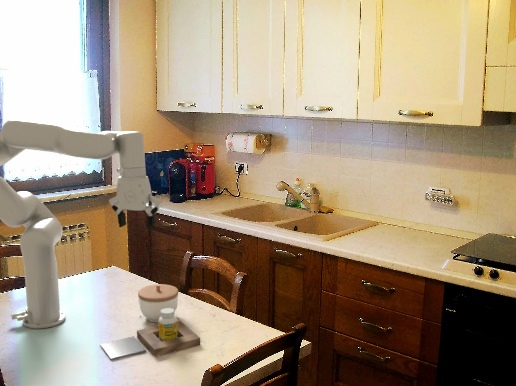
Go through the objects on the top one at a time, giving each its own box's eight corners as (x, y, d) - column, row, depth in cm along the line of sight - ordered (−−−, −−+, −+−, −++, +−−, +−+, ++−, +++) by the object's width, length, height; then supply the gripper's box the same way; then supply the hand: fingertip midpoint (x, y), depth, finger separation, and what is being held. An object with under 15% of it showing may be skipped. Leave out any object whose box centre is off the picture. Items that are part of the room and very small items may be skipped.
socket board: (154, 356, 157) (154, 349, 156) (137, 337, 168) (136, 330, 168) (200, 345, 164) (200, 338, 163) (180, 327, 175) (180, 320, 175)
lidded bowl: (159, 306, 191) (158, 275, 189) (186, 316, 184) (186, 283, 182) (130, 319, 181) (129, 286, 179) (158, 329, 174) (158, 295, 171)
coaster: (111, 360, 154) (110, 358, 154) (100, 346, 162) (100, 344, 162) (146, 351, 159) (145, 349, 159) (133, 338, 168) (133, 336, 168)
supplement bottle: (172, 335, 170) (172, 305, 168) (180, 342, 165) (180, 311, 163) (156, 340, 167) (155, 309, 165) (163, 347, 162) (162, 315, 160)
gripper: (101, 173, 171) (105, 228, 174) (153, 175, 166) (156, 231, 169) (114, 169, 178) (117, 222, 181) (164, 171, 173) (167, 225, 176)
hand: (136, 226), depth 175 cm, fingers open, 9 cm apart
